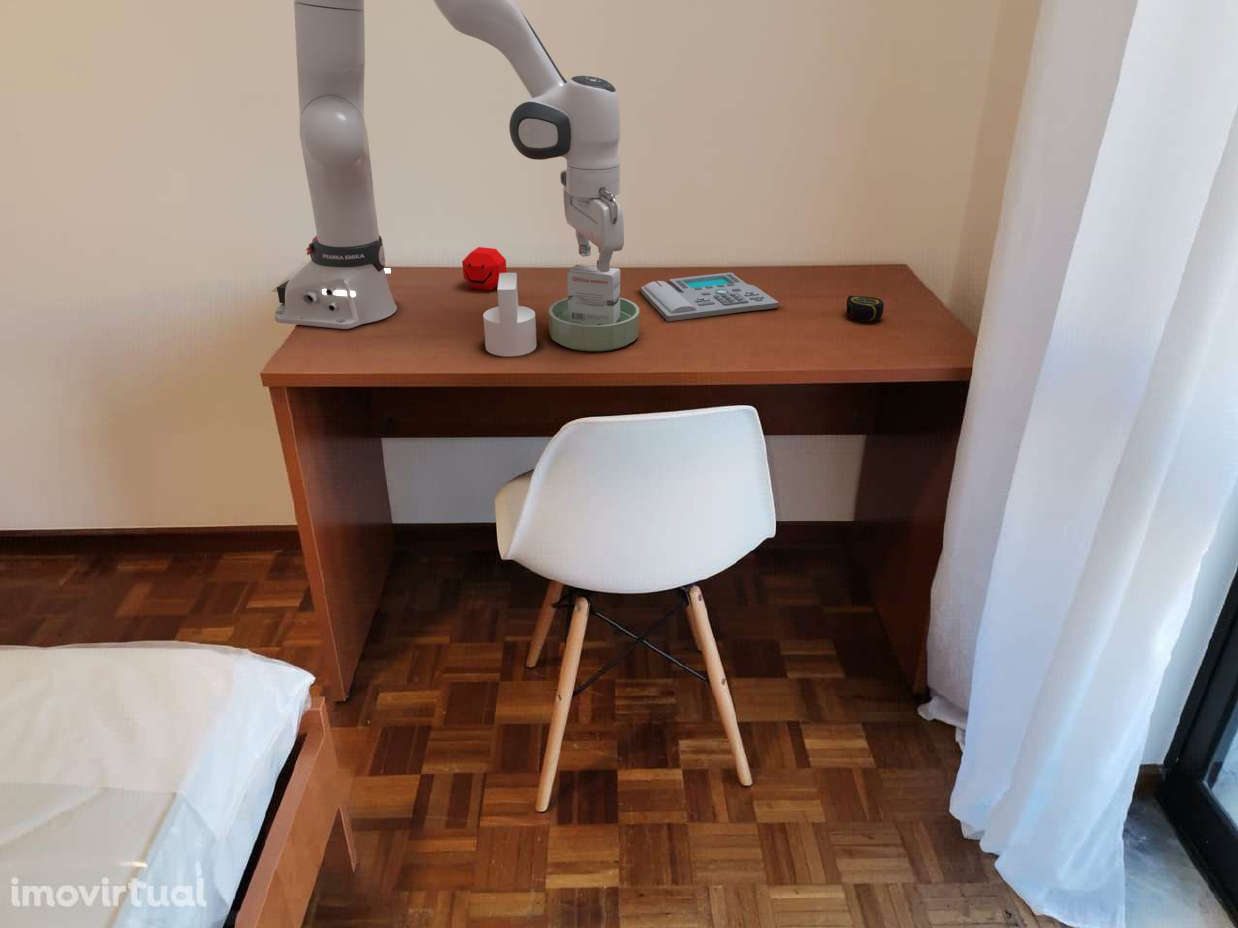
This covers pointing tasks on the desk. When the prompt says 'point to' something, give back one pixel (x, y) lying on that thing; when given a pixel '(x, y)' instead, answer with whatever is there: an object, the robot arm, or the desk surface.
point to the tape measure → (864, 308)
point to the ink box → (593, 296)
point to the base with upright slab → (509, 322)
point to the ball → (483, 268)
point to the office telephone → (705, 296)
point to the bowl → (594, 329)
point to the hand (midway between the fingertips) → (593, 263)
